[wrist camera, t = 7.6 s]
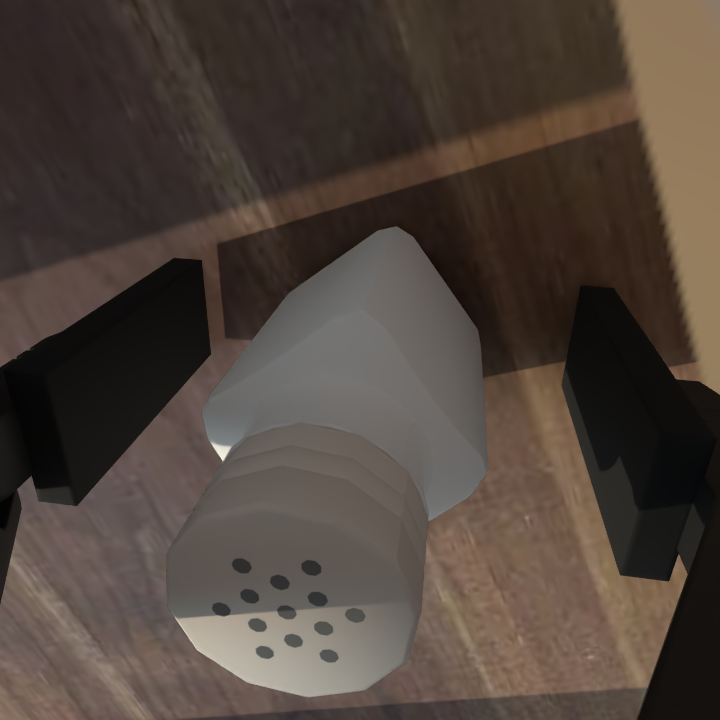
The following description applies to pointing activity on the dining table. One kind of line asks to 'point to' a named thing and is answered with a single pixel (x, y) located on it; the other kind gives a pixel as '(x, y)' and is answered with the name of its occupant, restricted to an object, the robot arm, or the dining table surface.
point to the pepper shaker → (333, 475)
